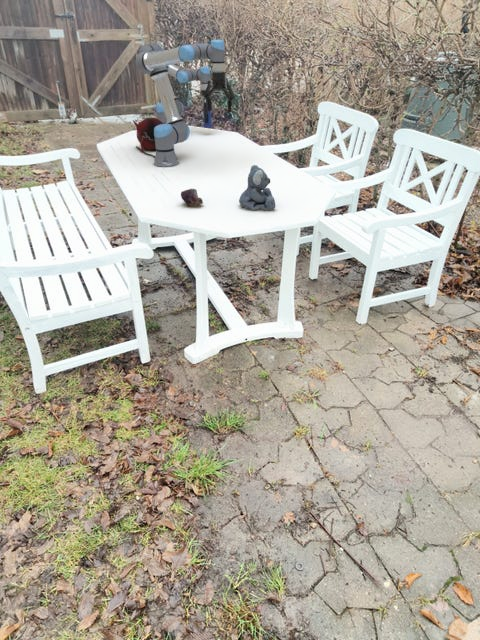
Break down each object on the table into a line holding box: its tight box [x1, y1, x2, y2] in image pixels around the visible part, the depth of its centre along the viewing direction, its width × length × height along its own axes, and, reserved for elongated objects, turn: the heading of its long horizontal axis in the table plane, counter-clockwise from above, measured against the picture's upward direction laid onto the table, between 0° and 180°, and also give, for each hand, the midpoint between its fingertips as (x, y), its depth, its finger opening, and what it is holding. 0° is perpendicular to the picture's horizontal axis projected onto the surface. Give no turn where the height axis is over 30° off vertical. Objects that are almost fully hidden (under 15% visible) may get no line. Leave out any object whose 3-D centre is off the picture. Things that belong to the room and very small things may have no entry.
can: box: [202, 109, 213, 129], centre depth 355 cm, size 6×6×12 cm
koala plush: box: [238, 164, 276, 211], centre depth 224 cm, size 17×18×20 cm
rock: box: [180, 188, 204, 207], centre depth 229 cm, size 12×9×10 cm
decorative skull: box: [132, 117, 164, 153], centre depth 323 cm, size 21×24×25 cm
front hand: (219, 111), depth 269 cm, fingers open, 13 cm apart
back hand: (207, 122), depth 356 cm, fingers closed on can, 6 cm apart
